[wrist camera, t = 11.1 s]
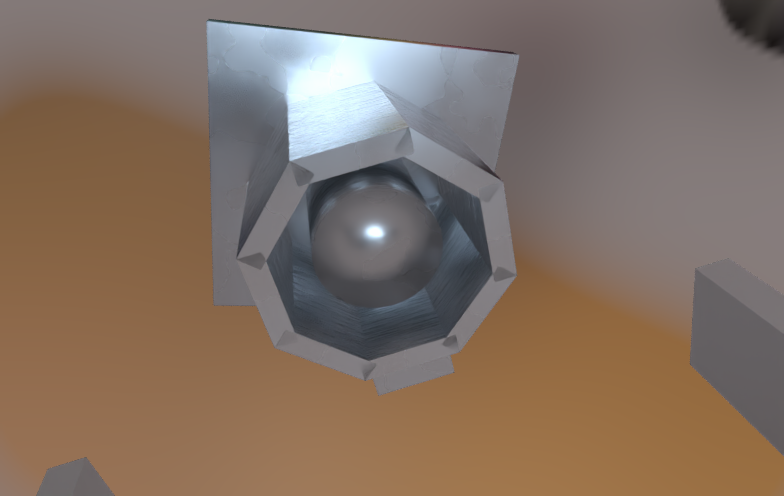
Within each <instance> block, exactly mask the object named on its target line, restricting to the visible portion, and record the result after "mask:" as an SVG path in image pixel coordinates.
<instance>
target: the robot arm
mask: <svg viewBox="0 0 784 496" xmlns="http://www.w3.org/2000/svg"><path fill="white" fill-rule="evenodd" d="M691 337H692V338H691V353H690V365H691V366H692V367H693V368H694V369H695V370H696V371H697V372H698V373H699V374H700V375H701V376H702V377H703V378H704V379H706V380H707V381H708V382H709V383H710V384H711V385H712V386H713V387H714V388H715V389H716V390H717V391H718V392H719V393H720V394H721V395H722V396H723V397H724V398H725V399H726V400H727V401H728V402H729V403H730V404H731V405H732V406H733V407H734V408H735V409H736V410H737V411H738V412H739V413H740V414H741V415H742V416H743V417H745V419H746V420H747V421H748V422H750V424H752V426H754V427H755V428H756V429H757V430H758V431H759V432H760V433H761V434H762V435H763V436H764V437H765V438H766V439H767V440H768V441H769V442H770V443H771V444H772V445H773V446H774V447H775V448H776V449H777V450H778V451H779V452H780V453H781V454H782V455H783V456H784V295H783V294H781V293H780V292H779V291H777V290H775V289H774V288H773V287H771V286H769V285H768V284H766V283H765V282H764V281H762V280H761V279H759V278H758V277H756V276H754V275H753V274H751V273H750V272H749V271H747V270H745V269H744V268H742V267H741V266H739V265H738V264H736V263H735V262H733V261H732V260H730V259H729V258H727V259H724V260H721V261H718V262H714V263H712V264H708V265H705V266H701V267H698V268H696V269H695V283H694V300H693V318H692V336H691ZM36 496H115V495H114V494H113V493H112V491H111V490H110V489H109V487H108V486H107V485H106V483H105V482H104V481H103V479H102V478H101V477H100V475H99V474H98V473H97V471H96V470H95V468H94V467H93V466H92V465H91V463H90V462H89V461H88V459H87V458H86V457H85V458H82V459H78V460H75V461H72V462H69V463H66V464H62V465H59V466H56V467H53V468H50V469H48V470H47V472H46V475H45V477H44V479H43V482H42V484H41V486H40V488H39V491H38V493H37V495H36Z"/></svg>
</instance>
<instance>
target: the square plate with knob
mask: <svg viewBox="0 0 784 496" xmlns="http://www.w3.org/2000/svg"><path fill="white" fill-rule="evenodd" d="M207 57H208V95H209V96H208V97H209V135H210V136H209V138H210V178H211V220H212V259H213V299H214V300H213V301H214V305H222V306H224V305H226V306H232V305H233V306H256V304H255V302H254V299H253V297H252V295H251V292H250V290H249V288H248V285H247V283H246V281H245V279H244V276H243V274H242V272H241V269H240V267H239V265H238V262H237V260H236V257H237V250H238V244H239V238H240V231H241V225H242V219H243V212H244V206H245V199H246V193H247V187H248V180H249V178H250V176H251V174H252V172H253V170H254V168H255V166H256V164H257V162H258V160H259V159H260V157H261V155H262V153H263V151H264V149H265V147H266V145H267V143H268V141H269V139H270V137H271V135H272V134H273V132H274V130H275V128H276V126H277V124H278V122H279V120H280V118H281V116H282V114H283V112H284V111H285V109H286V107H287V105H288V104H290V103H294V102H297V101H301V100H304V99H308V98H312V97H315V96H319V95H322V94H326V93H329V92H333V91H336V90H340V89H344V88H347V87H351V86H354V85H358V84H361V83H365V82H368V81H372V80H374V81H376V82H378V83H379V84H381V85H383V86H384V87H386V88H388V89H389V90H391V91H393V92H394V93H396V94H398V95H399V96H401V97H403V98H404V99H406V100H408V101H409V102H411V103H413V104H414V105H416V106H418V107H419V108H421V109H423V110H424V111H426V112H428V113H430V114H431V115H433V116H435V117H436V118H438V119H440V120H441V121H443V122H445V123H446V124H447V125H448V126H449V127H450V128H451V129H452V130H453V131H454V132H455V133H456V134H457V135H458V136H459V137H460V138H461V139H462V140H463V141H464V142H465V143H466V144H467V145H468V146H469V147H470V148H471V149H472V150H473V151H474V152H475V153H476V154H477V155H478V156H479V157H480V158H481V159H482V160H483V161H484V162H485V163H486V164H487V165H488V166H489V167H490V168H491V169H492V170H493V172H494V173H495V169H496V164H497V160H498V155H499V150H500V145H501V140H502V136H503V131H504V126H505V121H506V116H507V112H508V107H509V102H510V98H511V93H512V88H513V83H514V78H515V74H516V69H517V64H518V59H519V55H518V54H516V53H513V52H507V51H498V50H489V49H480V48H470V47H461V46H451V45H443V44H433V43H424V42H415V41H406V40H397V39H388V38H379V37H370V36H360V35H351V34H342V33H332V32H324V31H314V30H305V29H296V28H286V27H278V26H269V25H259V24H250V23H241V22H231V21H223V20H214V19H209V20H207ZM440 196H441V194H440V190H439V185H438V180H437V175H436V174H435V173H433V172H431V171H429V170H427V169H426V168H424V167H422V166H420V165H418V164H416V163H415V162H413V161H411V160H409V159H407V158H406V157H400V158H397V159H393V160H390V161H386V162H383V163H379V164H376V165H372V166H369V167H365V168H362V169H358V170H355V171H352V172H348V173H345V174H341V175H338V176H334V177H331V178H327V179H324V180H320V181H317V182H313V183H310V184H309V186H308V187H307V189H306V191H305V193H304V194H303V196H302V198H301V200H300V202H299V203H298V205H297V207H296V209H295V210H294V212H293V214H292V216H291V218H290V219H289V221H288V223H287V227H288V230H289V232H290V235H291V238H292V239H293V240H295V241H297V242H300V243H302V244H304V245H306V246H308V247H311V253H312V261H313V267H314V270H315V273H316V275H317V277H318V279H319V281H320V282H321V283H322V285H323V286H324V287H325V288H326V289H327V291H328V292H330V293H331V294H332V295H333V296H335V297H336V298H338V299H339V300H341V301H343V302H345V303H348V304H351V305H354V306H358V307H364V308H381V307H387V306H391V305H395V304H398V303H400V302H403V301H405V300H407V299H409V298H411V297H412V296H414V295H415V294H416V293H418V292H419V291H420V290H421V289H423V288H424V287H425V286H426V284H427V283H428V282H429V281H430V280H431V278H432V277H433V276H434V274H435V272H436V270H437V269H438V266H439V263H440V261H441V257H442V251H443V238H442V232H441V229H440V226H439V223H438V221H437V220H436V218H435V216H434V214H433V213H432V211H431V210H432V208H433V207H434V205H435V204H436V202H437V201H438V199H439V198H440Z"/></svg>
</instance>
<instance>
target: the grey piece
mask: <svg viewBox="0 0 784 496" xmlns="http://www.w3.org/2000/svg"><path fill="white" fill-rule="evenodd" d="M400 157H406V158H407V159H409V160H411V161H413V162H415V163H416V164H418V165H420V166H422V167H424V168H426V169H427V170H429V171H431V172H433V173H435V174H436V175H437V180H438V185H439V190H440V194H441V196H440V198H439V199H438V201H437V202H436V204H435V205H434V207H433V208H432V210H431V211H432V213H433V214H434V216H435V218H436V220H437V221H438V223H439V226H440V229H441V232H442V238H443V251H442V257H441V261H440V263H439V266H438V269H437V270H436V272H435V274H434V276H433V277H432V278H431V280H430V281H429V282H428V283H427V284H426V286H425V287H424V288H423V289H421V290H420V291H419V292H418V293H416V294H415V295H414V296H412V297H411V298H409V299H407V300H405V301H403V302H400V303H398V304H395V305H391V306H387V307H381V308H364V307H358V306H354V305H351V304H348V303H345V302H343V301H341V300H339V299H338V298H336V297H335V296H333V295H332V294H331V293H330V292H328V291H327V289H326V288H325V287H324V286H323V285H322V283H321V282H320V281H319V279H318V277H317V275H316V273H315V270H314V267H313V261H312V253H311V247H308V246H306V245H304V244H302V243H300V242H297V241H295V240H293V239H292V238H291V235H290V232H289V230H288V227H287V223H288V221H289V219H290V218H291V216H292V214H293V212H294V210H295V209H296V207H297V205H298V203H299V202H300V200H301V198H302V196H303V194H304V193H305V191H306V189H307V187H308V186H309V184H310V183H313V182H317V181H320V180H324V179H327V178H331V177H334V176H338V175H341V174H345V173H348V172H352V171H355V170H358V169H362V168H365V167H369V166H372V165H376V164H379V163H383V162H386V161H390V160H393V159H397V158H400ZM236 260H237V262H238V265H239V267H240V269H241V272H242V274H243V276H244V279H245V281H246V283H247V285H248V288H249V290H250V292H251V295H252V297H253V299H254V302H255V304H256V306H257V309H258V311H259V313H260V315H261V317H262V320H263V322H264V325H265V327H266V329H267V331H268V334H269V336H270V338H271V340H272V343H273V345H274V348H276V349H279V350H282V351H284V352H287V353H290V354H293V355H296V356H299V357H301V358H304V359H307V360H309V361H312V362H315V363H318V364H320V365H323V366H326V367H329V368H332V369H334V370H337V371H340V372H342V373H345V374H348V375H351V376H354V377H356V378H359V379H362V380H365V381H366V380H369V379H373V381H374V384H375V387H376V389H377V393H378V395H382V394H386V393H389V392H392V391H395V390H398V389H402V388H405V387H408V386H411V385H415V384H418V383H422V382H425V381H428V380H431V379H435V378H438V377H441V376H444V375H448V374H451V373H454V369H453V364H452V360H451V356H450V355H452V354H455V353H458V352H460V351H461V349H462V348H463V347H464V345H465V344H466V343H467V341H468V340H469V339H470V337H471V336H472V335H473V333H474V332H475V331H476V329H477V328H478V326H479V325H480V324H481V323H482V321H483V320H484V319H485V317H486V316H487V315H488V313H489V312H490V311H491V309H492V308H493V307H494V305H495V304H496V303H497V301H498V300H499V299H500V297H501V296H502V295H503V293H504V292H505V291H506V289H507V288H508V287H509V285H510V284H511V283H512V281H513V280H514V279H515V277H516V276H517V272H516V265H515V259H514V252H513V245H512V238H511V231H510V225H509V218H508V211H507V204H506V197H505V190H504V183H503V181H502V180H501V179H500V178H499V177H498V176H497V175H496V174H495V173H494V172H493V170H492V169H491V168H490V167H489V166H488V165H487V164H486V163H485V162H484V161H483V160H482V159H481V158H480V157H479V156H478V155H477V154H476V153H475V152H474V151H473V150H472V149H471V148H470V147H469V146H468V145H467V144H466V143H465V142H464V141H463V140H462V139H461V138H460V137H459V136H458V135H457V134H456V133H455V132H454V131H453V130H452V129H451V128H450V127H449V126H448V125H447V124H446V123H445V122H443V121H441V120H440V119H438V118H436V117H435V116H433V115H431V114H430V113H428V112H426V111H424V110H423V109H421V108H419V107H418V106H416V105H414V104H413V103H411V102H409V101H408V100H406V99H404V98H403V97H401V96H399V95H398V94H396V93H394V92H393V91H391V90H389V89H388V88H386V87H384V86H383V85H381V84H379V83H378V82H376V81H374V80H372V81H368V82H365V83H361V84H358V85H354V86H351V87H347V88H344V89H340V90H336V91H333V92H329V93H326V94H322V95H319V96H315V97H312V98H308V99H304V100H301V101H297V102H294V103H290V104H288V105H287V107H286V109H285V111H284V112H283V114H282V116H281V118H280V120H279V122H278V124H277V126H276V128H275V130H274V132H273V134H272V135H271V137H270V139H269V141H268V143H267V145H266V147H265V149H264V151H263V153H262V155H261V157H260V159H259V160H258V162H257V164H256V166H255V168H254V170H253V172H252V174H251V176H250V178H249V180H248V187H247V193H246V199H245V206H244V212H243V219H242V225H241V231H240V238H239V244H238V250H237V257H236Z"/></svg>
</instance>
